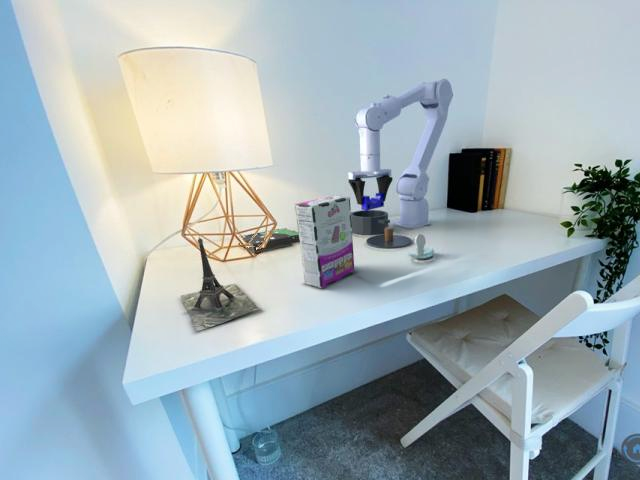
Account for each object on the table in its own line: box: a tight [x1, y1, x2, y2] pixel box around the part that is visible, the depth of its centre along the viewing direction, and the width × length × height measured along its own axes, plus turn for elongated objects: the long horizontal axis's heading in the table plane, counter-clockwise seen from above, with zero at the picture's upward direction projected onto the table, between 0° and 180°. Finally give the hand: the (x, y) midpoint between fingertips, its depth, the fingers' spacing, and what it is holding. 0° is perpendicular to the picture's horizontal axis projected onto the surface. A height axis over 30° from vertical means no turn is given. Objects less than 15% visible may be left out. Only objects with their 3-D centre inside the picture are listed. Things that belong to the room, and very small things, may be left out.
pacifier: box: [406, 233, 438, 264], centre depth 81 cm, size 7×6×6 cm
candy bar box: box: [294, 195, 355, 289], centre depth 69 cm, size 11×5×16 cm, turn 148°
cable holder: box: [360, 192, 385, 210], centre depth 103 cm, size 8×4×4 cm, turn 140°
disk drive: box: [237, 227, 300, 253], centre depth 95 cm, size 10×3×15 cm
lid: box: [365, 226, 413, 250], centre depth 94 cm, size 13×13×5 cm
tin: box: [351, 209, 391, 236], centre depth 106 cm, size 12×17×6 cm
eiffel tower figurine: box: [180, 232, 260, 332], centre depth 58 cm, size 15×10×13 cm
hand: (371, 202), depth 103 cm, fingers closed on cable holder, 7 cm apart
